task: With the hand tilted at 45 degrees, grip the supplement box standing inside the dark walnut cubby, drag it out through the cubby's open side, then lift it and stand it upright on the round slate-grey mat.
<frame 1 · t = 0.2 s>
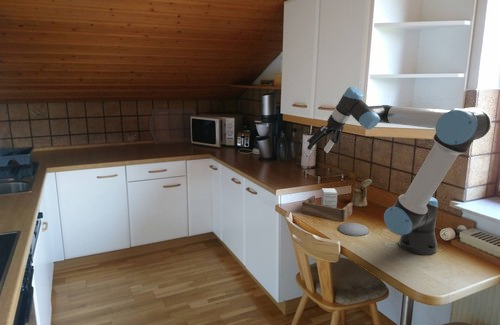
hand: (316, 152, 182), 36 cm above the table, tool tilted 35°, fingers open, 13 cm apart
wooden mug: (360, 206, 214), on the table
supplement box: (328, 212, 204), on the table
walnut cubby: (328, 212, 203), on the table
slate mat: (353, 230, 180), on the table
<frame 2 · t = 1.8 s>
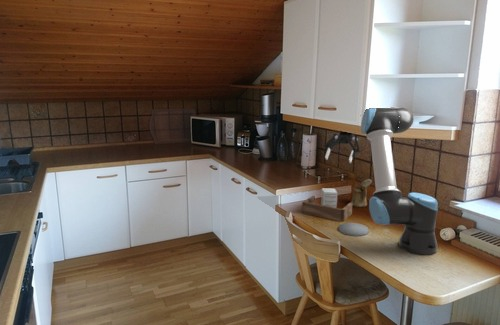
hand: (337, 160, 206), 27 cm above the table, tool tilted 45°, fingers open, 13 cm apart
nothing on the table moved.
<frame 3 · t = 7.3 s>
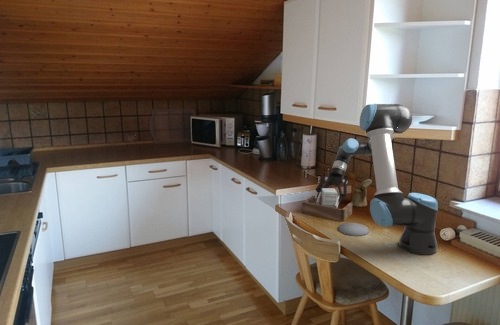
hand: (326, 205, 200), 5 cm above the table, tool tilted 45°, fingers closed on supplement box, 10 cm apart
supplement box: (328, 212, 204), on the table, touching gripper
everything else where it was.
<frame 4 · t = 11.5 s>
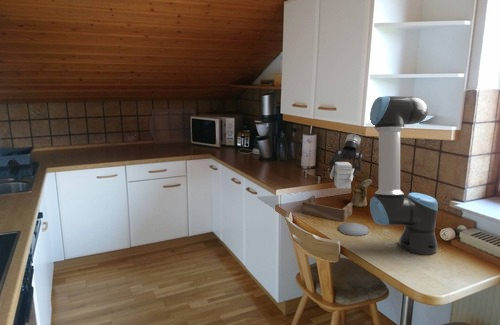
hand: (340, 178, 192), 21 cm above the table, tool tilted 45°, fingers closed on supplement box, 10 cm apart
supplement box: (342, 187, 195), point 16 cm above the table, touching gripper
everything else where it was.
when the fingers open (7 cm above the table, at t = 15.8 s): supplement box drops 1 cm, resting on slate mat.
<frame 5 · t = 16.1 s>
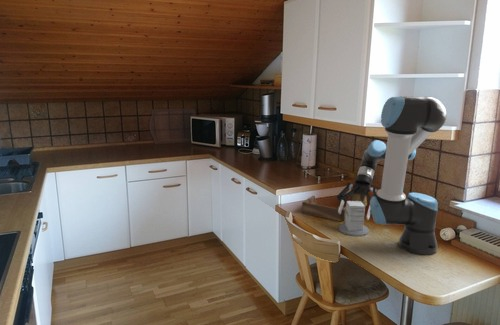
hand: (353, 215, 176), 8 cm above the table, tool tilted 45°, fingers open, 13 cm apart
supplement box: (353, 228, 179), point 1 cm above the table, touching slate mat
everything else where it was.
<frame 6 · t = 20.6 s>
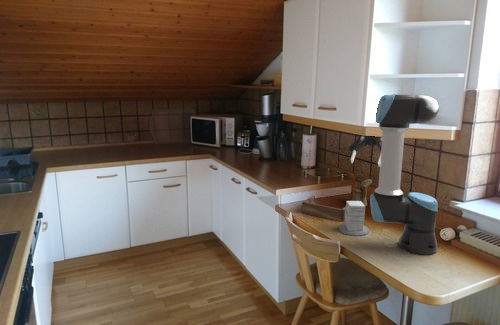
hand: (364, 163, 187), 30 cm above the table, tool tilted 45°, fingers open, 13 cm apart
nothing on the table moved.
at the end: supplement box 0.1 cm from the slate mat (horizontally); supplement box tilted 0°; the gripper is holding nothing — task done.
